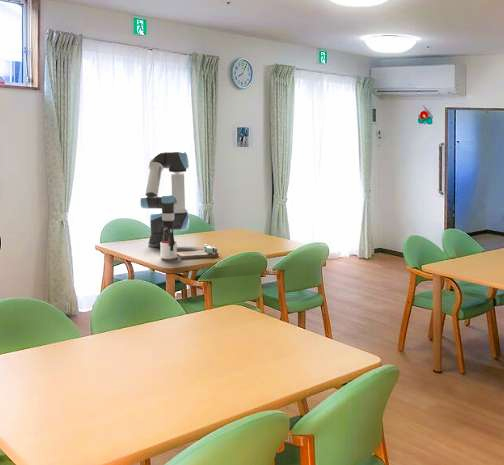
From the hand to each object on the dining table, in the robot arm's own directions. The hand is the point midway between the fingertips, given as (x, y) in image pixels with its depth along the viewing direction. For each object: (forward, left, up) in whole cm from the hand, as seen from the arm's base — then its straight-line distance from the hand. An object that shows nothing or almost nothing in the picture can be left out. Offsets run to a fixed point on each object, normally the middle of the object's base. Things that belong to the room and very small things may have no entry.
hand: (168, 254), depth 384 cm
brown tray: (0, +18, -3) cm, 18 cm away
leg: (0, +26, 0) cm, 26 cm away
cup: (0, 0, -3) cm, 3 cm away
